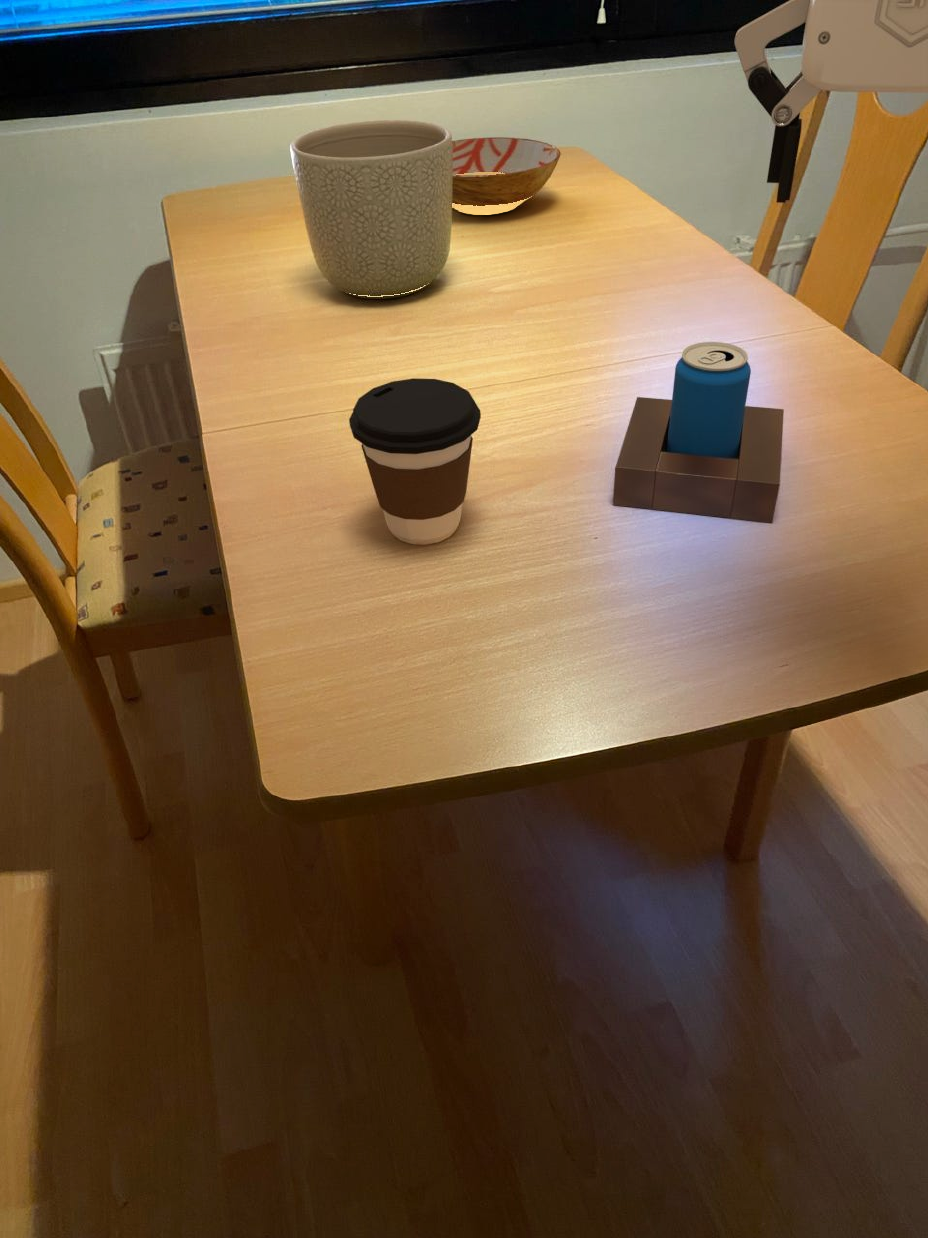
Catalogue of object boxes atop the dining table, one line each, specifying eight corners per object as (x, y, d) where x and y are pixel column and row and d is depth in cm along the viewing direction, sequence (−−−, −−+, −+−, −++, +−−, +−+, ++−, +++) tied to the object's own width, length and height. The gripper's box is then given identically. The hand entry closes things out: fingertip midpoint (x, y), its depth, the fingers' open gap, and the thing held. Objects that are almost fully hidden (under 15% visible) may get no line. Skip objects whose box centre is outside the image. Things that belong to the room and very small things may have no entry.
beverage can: (748, 477, 88) (769, 356, 80) (698, 499, 85) (715, 377, 78) (698, 450, 92) (714, 333, 84) (650, 471, 89) (661, 352, 82)
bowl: (589, 208, 155) (591, 156, 150) (459, 239, 146) (456, 185, 141) (509, 177, 172) (508, 129, 167) (388, 202, 163) (383, 153, 158)
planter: (302, 271, 138) (280, 129, 126) (437, 252, 141) (428, 113, 129) (325, 322, 122) (302, 166, 110) (476, 299, 126) (471, 145, 114)
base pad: (776, 445, 92) (783, 408, 90) (772, 523, 82) (779, 483, 79) (634, 432, 96) (637, 396, 93) (612, 505, 85) (615, 466, 83)
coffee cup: (338, 531, 84) (319, 410, 76) (422, 481, 90) (412, 364, 82) (426, 576, 78) (415, 450, 70) (509, 519, 84) (507, 397, 76)
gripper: (758, -184, 42) (711, 213, 53) (1197, -212, 38) (1048, 225, 49) (764, -182, 48) (720, 177, 58) (1148, -206, 43) (1024, 185, 54)
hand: (869, 198), depth 54 cm, fingers open, 9 cm apart
